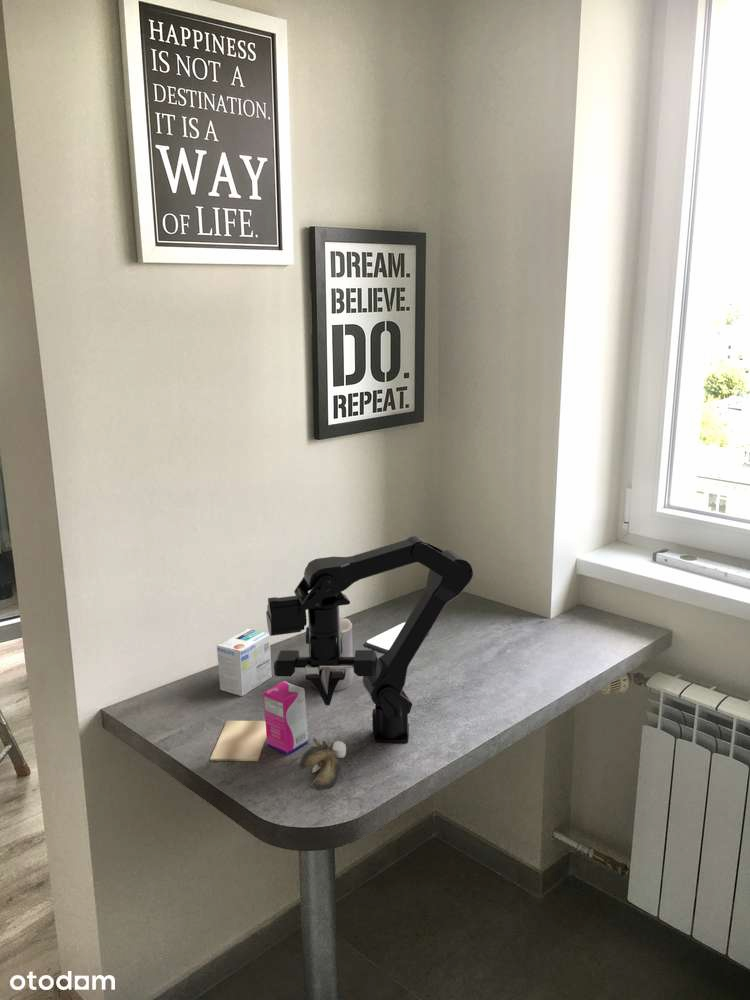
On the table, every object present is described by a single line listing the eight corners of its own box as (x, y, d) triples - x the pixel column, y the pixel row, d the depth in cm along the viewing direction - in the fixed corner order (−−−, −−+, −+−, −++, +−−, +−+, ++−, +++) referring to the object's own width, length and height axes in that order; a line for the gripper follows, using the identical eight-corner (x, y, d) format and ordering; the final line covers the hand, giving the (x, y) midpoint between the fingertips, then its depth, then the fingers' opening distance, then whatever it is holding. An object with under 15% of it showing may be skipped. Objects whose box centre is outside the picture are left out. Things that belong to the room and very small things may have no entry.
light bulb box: (249, 671, 192) (247, 627, 189) (273, 677, 188) (270, 632, 186) (218, 690, 183) (215, 644, 180) (242, 697, 179) (239, 650, 177)
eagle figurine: (301, 754, 155) (288, 773, 146) (322, 724, 154) (310, 741, 145) (335, 779, 154) (324, 799, 145) (356, 748, 153) (346, 767, 144)
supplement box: (287, 733, 165) (284, 679, 162) (308, 742, 161) (306, 688, 158) (265, 745, 160) (262, 691, 157) (287, 755, 157) (284, 700, 154)
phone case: (389, 657, 198) (432, 635, 210) (389, 651, 198) (431, 629, 209) (362, 647, 204) (405, 626, 215) (362, 641, 204) (404, 620, 215)
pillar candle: (300, 682, 185) (298, 620, 181) (332, 667, 192) (330, 607, 188) (331, 697, 179) (329, 632, 175) (362, 681, 186) (361, 618, 182)
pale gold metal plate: (271, 722, 169) (271, 720, 168) (258, 761, 155) (258, 759, 155) (227, 722, 169) (226, 720, 169) (210, 760, 155) (210, 758, 155)
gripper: (377, 610, 161) (379, 684, 165) (281, 611, 162) (285, 684, 166) (374, 634, 151) (376, 712, 155) (271, 634, 152) (276, 712, 156)
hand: (327, 704), depth 158 cm, fingers closed
